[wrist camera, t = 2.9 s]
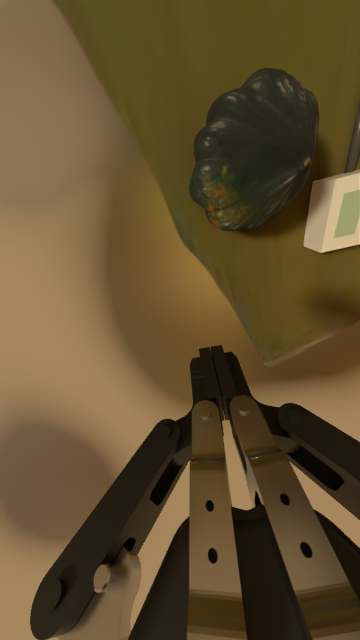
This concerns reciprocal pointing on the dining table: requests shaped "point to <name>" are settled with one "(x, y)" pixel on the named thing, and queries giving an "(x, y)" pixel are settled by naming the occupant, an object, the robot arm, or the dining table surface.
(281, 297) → the dining table surface
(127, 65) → the dining table surface
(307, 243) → the switch block
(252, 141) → the squash
